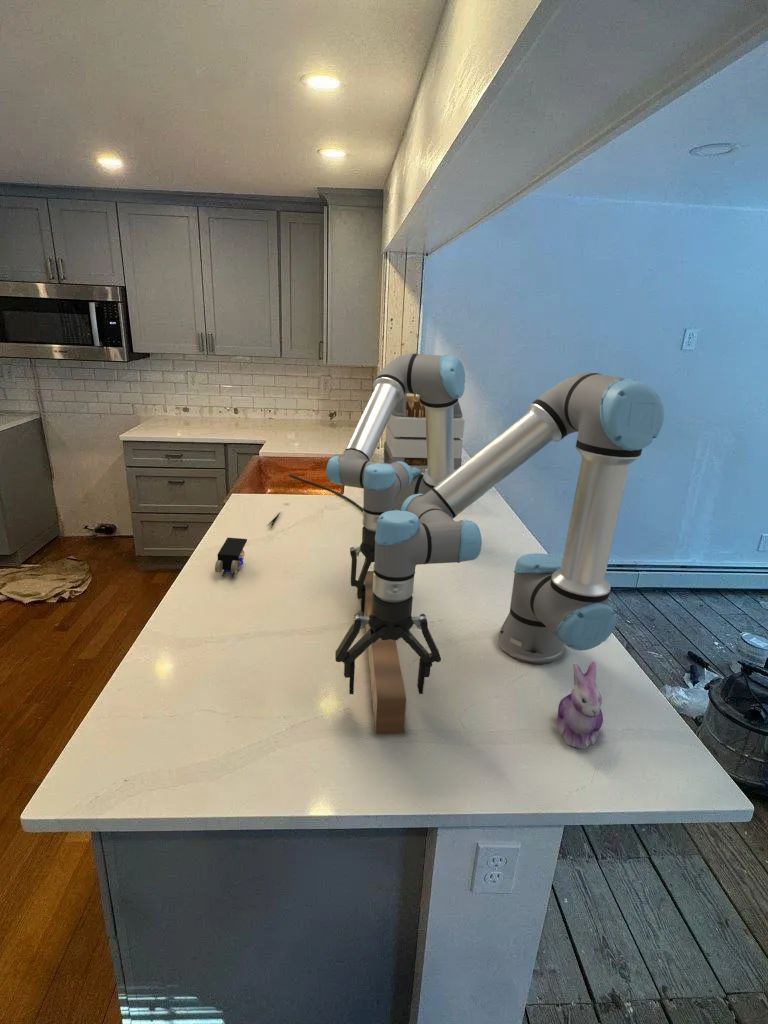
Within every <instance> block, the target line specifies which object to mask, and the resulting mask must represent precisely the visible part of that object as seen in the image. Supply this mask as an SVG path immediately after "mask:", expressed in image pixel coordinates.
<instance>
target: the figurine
mask: <svg viewBox="0 0 768 1024" xmlns="http://www.w3.org/2000/svg"><path fill="white" fill-rule="evenodd" d="M597 667H598V666H597V662H595V661H591V662H590V663H589V665H588V666H587V669H586V671H585V673H584V671H583V670H582V668H581V666H580V665H579V664H578V663H576V662H574V663H573V664H572V671H573V673H572V674H573V688H572V690H571V692H570V693H569V694H567V695H566V696H564V697H563V698H562V699H560V702H559V704H558V709H557V716H556V727H557V732H558V733H559V734H560V735H561V736H562V738H563V739H564V742H565V743H566V744H567V745H568V746H569V747H574V748H577V749H587V748H588V747H589V746H590V745H595V744H596V743H597V740H598V738H599V735H600V734H599V733H600V730H601V728H602V726H603V724H604V723H603V722H604V717H603V716H604V715H603V712H602V708H601V706H602V704H603V696H602V693H601V691H600V689H599V686H598V685H597V670H598V669H597Z"/></svg>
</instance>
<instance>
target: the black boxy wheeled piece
mask: <svg viewBox="0 0 768 1024" xmlns="http://www.w3.org/2000/svg"><path fill="white" fill-rule="evenodd" d="M247 542H248V538H240V537H226V539H225V541H224V543H223V544H222V546H221V547H220V549H219V551H218V552H217V560H216V562H215V564H214V572H215V573H221V577H222V578H224V577H225V576H226V574H227V573H230V574H231V573H232V574H231V578H234V577H235V575H236V573H237V572H239V571H240V567H242V566H243V565H244V564H245V562H244V558H245V551H244V547H245V546H246V544H247Z"/></svg>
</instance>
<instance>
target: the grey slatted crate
mask: <svg viewBox="0 0 768 1024" xmlns="http://www.w3.org/2000/svg"><path fill="white" fill-rule="evenodd" d="M407 394H408V393H407ZM407 394H404V396H403V398H402V399H401V400H400V401H399V402H397V403H396V405H395V408H394V410H393V412H392V414H391V416H390V418H389V421H388V423H387V425H386V427H385V438H384V442H383V463H388V464H391V463H392V462H397V461H401V462H404V463H406V464H408V465H409V467H417V466H418V467H427V443H426V418H425V407H424V406H423V405H422V404H421V403H420V396H415V395H414V396H413V395H412V396H411V395H407ZM453 418H454V469H455V470H457V469H458V468H459V467H460V466H462V461H463V460H462V453H463V442H464V441H463V440H462V439H463V438H464V431H465V430H464V429H465V419H464V418H463V411H462V408H461V405H460V402H459V401H458V402H457V403H456V404H455V405H454V406H453Z"/></svg>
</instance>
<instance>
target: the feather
mask: <svg viewBox="0 0 768 1024" xmlns="http://www.w3.org/2000/svg"><path fill="white" fill-rule="evenodd" d="M280 514H281V512H279V513H278V514H276V516H275V517H274V518H273V519H272V520H271V521H270V522H269V523H267V526H269V525H270V529H272V528H273V526H274V525H275V522H276V521H277V519H278V517H279V515H280ZM267 526H266V527H267Z"/></svg>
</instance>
